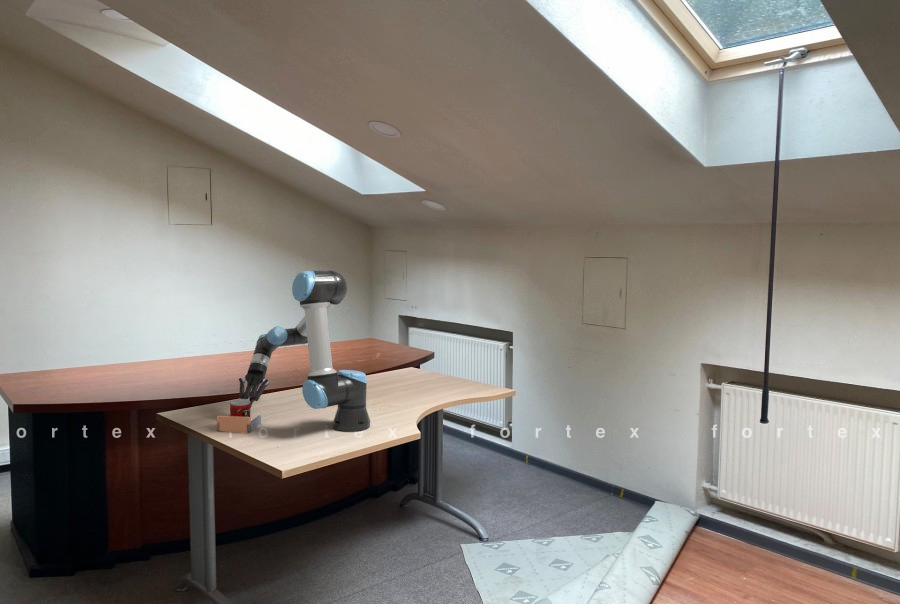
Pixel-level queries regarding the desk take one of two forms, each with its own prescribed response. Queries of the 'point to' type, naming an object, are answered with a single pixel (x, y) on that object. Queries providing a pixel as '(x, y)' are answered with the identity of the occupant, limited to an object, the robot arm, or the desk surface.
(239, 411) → the canned food
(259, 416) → the bracket
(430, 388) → the desk surface
